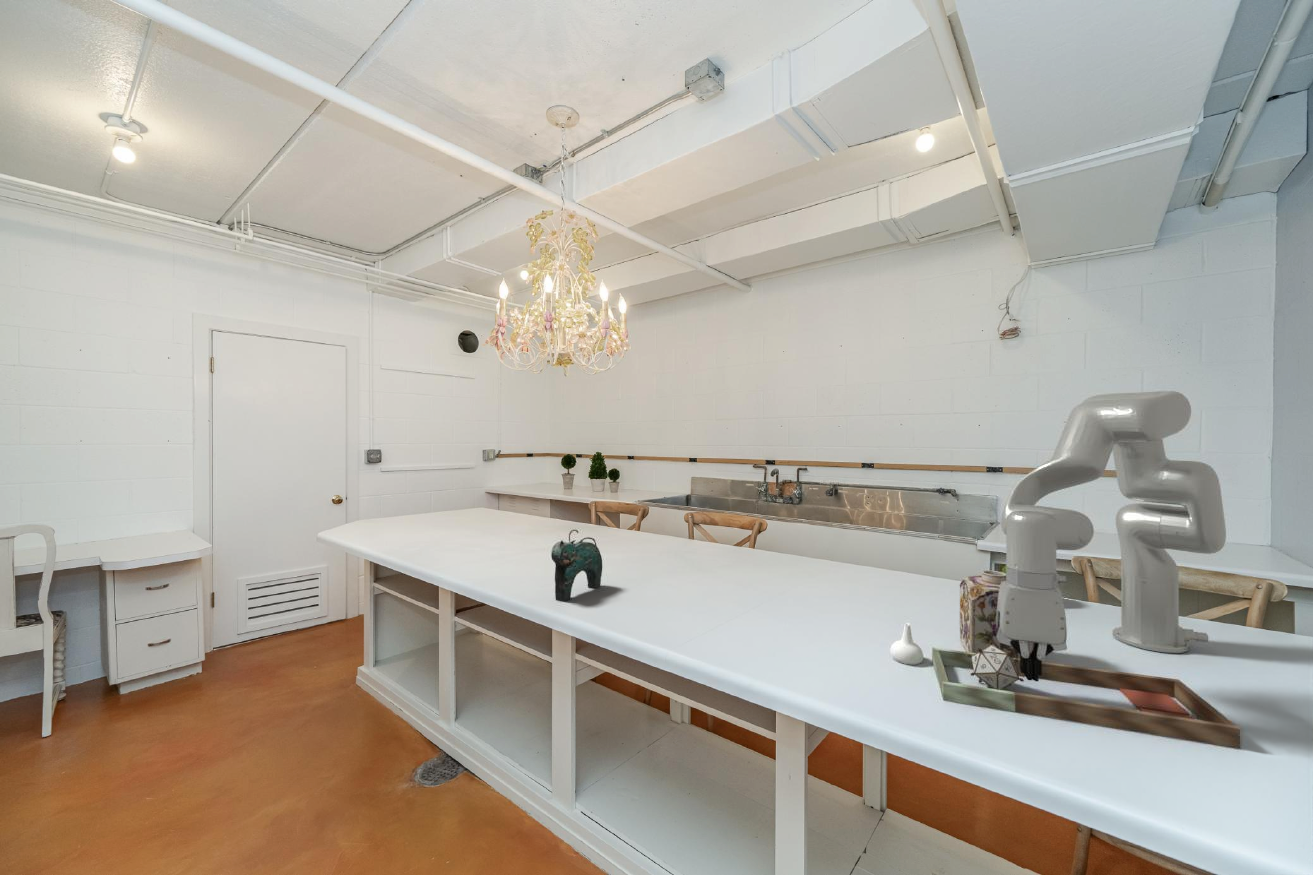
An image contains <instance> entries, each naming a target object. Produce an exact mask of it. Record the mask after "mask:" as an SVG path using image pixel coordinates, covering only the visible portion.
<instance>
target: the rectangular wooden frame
mask: <svg viewBox="0 0 1313 875" xmlns="http://www.w3.org/2000/svg"><path fill="white" fill-rule="evenodd" d="M931 651H932V652H931V653H932V654H931V655H932V656H931V657H932V659H931V660H932V665H933V669H934V672H935V675H936V679H937V683H938V687H939V691H940V693H941V697H942V700H943V701H947V702H952V703H957V704H965V705H970V706H978V707H983V708H990V709H996V710H1002V711H1006V712H1007V711H1009V712H1014V713H1019V714H1026V715H1033V716H1038V717H1044V718H1051V719H1057V720H1058V719H1059V720H1062V721H1063V720H1064V721H1070V722H1075V723H1082V724H1087V725H1093V726H1094V725H1095V726H1101V727H1106V728H1112V729H1119V730H1125V731H1129V732H1130V731H1131V732H1137V733H1144V734H1150V735H1155V736H1161V737H1167V738H1172V739H1173V738H1174V739H1180V740H1187V741H1192V742H1199V743H1205V744H1210V745H1215V746H1216V745H1217V746H1222V747H1229V748H1235V749H1241V728H1240V727H1238V725H1236V724H1235V723H1233V722H1232V721H1231V720H1230V719H1228V717H1226V716H1224V715H1223V713H1221V712H1220V711H1219V710H1217V709H1216V708H1215V707H1214V706H1212V705H1211V704H1210V703H1209V702H1207V701H1206V700H1205V699H1204V698H1202V697H1201V696H1200V695H1198V694H1197V693H1196V692H1195V691H1193V690H1192V689H1191V688H1190V687H1189V686H1187V685H1186V684H1185V683H1183V681H1181V680H1180V679H1177V678H1171V677H1161V676H1154V675H1145V674H1139V673H1138V674H1137V673H1131V672H1124V671H1116V670H1109V669H1103V668H1102V669H1101V668H1100V669H1099V668H1093V667H1087V666H1086V667H1085V666H1076V665H1070V664H1062V663H1054V662H1047V661H1042V675H1039V679H1042V680H1048V681H1055V682H1062V683H1070V684H1076V685H1083V686H1090V687H1098V688H1105V689H1112V690H1113V689H1114V690H1119V691H1120V692H1121V693H1122V694H1123V696H1125V697H1126V699H1128V701H1129V702H1130V703H1131V704H1132V705H1133V706H1134V707H1135V708H1136V709H1139V710H1135V709H1129V708H1122V707H1117V706H1116V707H1115V706H1109V705H1101V704H1096V703H1095V704H1094V703H1089V702H1082V701H1075V700H1069V699H1063V698H1057V697H1056V698H1055V697H1050V696H1045V695H1044V696H1043V695H1036V694H1030V693H1029V694H1028V693H1023V692H1015V691H1009V690H1004V689H1001V690H997V689H994V688H992V687H990V688H989V687H983V686H977V685H972V684H971V685H969V684H964V683H957V682H950V681H949V680H948V676H947V673H946V668H945V667H944V666H949V667H954V666H956V667H955V668H964V669H970V670H973V664H972V659H971V657H968V655H967V654H970V655H971V656H972V655H974V654H976V653H971V652H966V651H962V650H957V649H949V648H948V649H947V648H939V647H932V650H931ZM1012 659H1013V660H1015V659H1017V658H1012ZM1015 664H1016V668H1017V671H1018V675H1019V677H1025V675H1024V673H1022V672H1021V670H1020V659H1018V662H1015ZM1173 698H1175V699H1176V700H1177V701H1178V702H1179V703H1180V704H1181V705H1180V704H1179V703H1178V702H1177V701H1176V700H1174V699H1173ZM1183 706H1184V707H1185V708H1186V709H1187V710H1188V711H1190V713H1192V715H1190V713H1189V712H1188V711H1187V710H1186V709H1184V707H1183ZM1193 715H1194V716H1195V717H1196V718H1198V719H1196V718H1195V717H1194V716H1193Z"/></svg>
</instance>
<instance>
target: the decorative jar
mask: <svg viewBox="0 0 1313 875" xmlns="http://www.w3.org/2000/svg"><path fill="white" fill-rule="evenodd" d="M1002 581H1006V574H1005V573H1002V571H997V570H982V571H981V575H969V576H966V577H963V578H962V580H961V581H960V583H959V640H960V643H961V644H962V647H963V649H964V650H965V651H964V652H971V653H977V652H979V651H978V648H979V649H981V650H983V649H984V648H986V647H988V646H989V645H990V640H991V641H992V642H993V644H992V645H993V646H995V647H997V648H999V649H1000V650H1002V651H1004V652H1006V653H1007V652H1008V651H1011V654H1010V656H1011V658H1017V659H1020V654H1019V653H1018V652H1017V651H1016V650H1015V649H1014V648H1013V647H1012V646H1010V645H1006V644H1003V643H1000V642H999V641H998V640H997V638H996V636H997V633H998V628H997V625H996V614H997V602H998V594H999V589H1000V585H1001V582H1002ZM1033 644H1034V642H1027V646H1028V651H1029V654H1030V653H1031V652H1032V649H1033Z"/></svg>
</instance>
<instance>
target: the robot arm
mask: <svg viewBox="0 0 1313 875" xmlns="http://www.w3.org/2000/svg"><path fill="white" fill-rule="evenodd" d="M1191 415H1192V405H1191V403H1190V401H1189V399H1188V398H1187V396H1186V395H1184V394H1183V393H1181V392H1179V391H1174V390H1167V391H1165V390H1162V391H1161V390H1160V391H1143V392H1122V393H1121V392H1120V393H1119V392H1118V393H1106V394H1098V395H1093V396H1090V397H1087V398H1086V399H1085V400H1083V402H1082V403H1079V404H1077V405H1076V406H1075V407H1073V409H1072V410H1071V412H1070V413H1069V415H1068V418H1067V420H1066V423H1065V426H1064V428H1063V430H1062V432H1061V435H1060V438H1059V440H1058V442H1057V444H1056V447H1055V449H1054V453H1053V455H1052V457H1051V458H1050V459H1049V460H1048V461H1046V462H1044V463H1042V464H1041V465H1039V466H1037V467H1036V468H1034V469H1033V470H1031V471H1030V472H1029V473H1027V474H1025V475H1024V476H1022V478H1021V479H1020V480H1019V481H1018V482H1016V483H1015V485H1014V486H1013V487H1012V490H1011V491H1010V492H1009V495H1008V498H1007V500H1006V502H1005V505H1004V507H1003V511H1002V513H1001V518H1000V519H1001V520H1000V523H1001V524H1000V525H1001V529H1002V532H1003V533H1004V535H1005V537H1006V538H1005V539H1006V541H1005V543H1006V544H1005V545H1006V548H1005V549H1006V552H1005V553H1006V556H1005V558H1006V559H1005V560H1006V561H1005V562H1006V564H1005V566H1006V581H1002V582H1001V585H1000V589H999V594H998V602H997V614H996V625H997V628H998V633H997V636H996V638H997V640H998V641H999V642H1000V643H1003V644H1006V645H1010V646H1012V647H1013V648H1014V649H1015V650H1016V651H1017V652H1018V653H1019V654H1020V670H1021V672H1022V673H1024V675H1025V676H1024V677H1025V679H1026V680H1027V681H1034V682H1039V679H1040V678H1039V675H1042V662H1043V660H1045V657H1046V656H1049V654H1052V652H1062V651H1067V649H1068V646H1067V643H1066V642H1067V636H1068V635H1067V634H1068V629H1067V618H1066V611H1065V610H1066V609H1065V604H1064V599H1063V596H1062V595H1063V594H1062V591H1061V589H1060V588H1059V587H1058V586H1059V584H1060V583H1066V582H1067V577H1066V575H1065V574H1060V573H1058V572H1057V551H1077V550H1080V549H1084V548H1085V547H1086V546H1088V545H1089V544H1090V542H1091V541H1092V539H1093V537H1094V531H1095V530H1094V525H1093V522H1092V520H1090V518H1089V517H1088V516H1087V515H1085V514H1084V513H1082V512H1080V511H1077V510H1073V509H1066V508H1057V507H1052V506H1040V505H1036V504H1037V503H1038V502H1039V501H1040V500H1041V499H1042V498H1045V497H1046V496H1048V495H1049V494H1051V493H1055V492H1058V491H1061V490H1063V489H1065V490H1066V489H1069V488H1072V487H1075V486H1081V485H1083V484H1086V483H1091V482H1094V481H1095V480H1098V479H1099V478H1101V477H1102V476H1103V475H1104V473H1105V471H1106V468H1107V466H1108V463H1109V460H1110V456H1111V454H1113V455H1112V456H1113V461H1114V467H1115V475H1116V478H1117V480H1116V481H1117V485H1118V489H1119V491H1120V493H1121V495H1122V496H1123V497H1124V498H1127V499H1129V500H1131V501H1138V502H1142V503H1130V504H1126V505H1124V506H1122V507H1121V508H1120V509H1118V511H1117V513H1116V515H1115V526H1116V530H1117V534H1118V536H1117V537H1118V540H1119V546H1120V559H1121V560H1120V561H1121V562H1120V564H1121V565H1120V566H1121V568H1120V569H1121V584H1120V585H1121V588H1120V590H1121V594H1120V595H1121V597H1120V598H1121V600H1120V601H1121V608H1120V610H1121V616H1120V617H1121V622H1120V623H1121V626H1120V627H1116V628H1113V629H1112V636H1113V637H1114V638H1115V639H1116V640H1118V641H1120V642H1122V643H1124V644H1126V645H1129V646H1132V647H1135V648H1138V649H1144V650H1148V651H1154V652H1158V653H1166V654H1167V653H1168V654H1179V653H1180V654H1182V653H1185V652H1188V651H1189V650H1190V649H1189V644H1188V642H1189V641H1196V642H1205V643H1207V642H1209V635H1208V634H1207V633H1206V632H1201V631H1194V630H1193V629H1190V628H1183V627H1182V626H1180V625H1179V617H1180V616H1179V608H1180V607H1179V606H1180V605H1179V601H1180V600H1179V598H1180V596H1179V595H1180V594H1179V593H1180V592H1179V591H1180V588H1179V586H1180V585H1179V584H1180V583H1179V582H1180V581H1179V578H1180V577H1179V576H1180V573H1179V572H1180V571H1179V566H1177V563H1176V562H1175V560H1174V558H1173V557H1172V556H1171V555H1170V554H1169V553H1168V551H1166V550H1174V551H1180V552H1189V553H1195V554H1196V553H1197V554H1205V555H1211V554H1212V555H1213V554H1216V553H1218V552H1220V551H1221V550H1223V548H1224V546H1225V543H1226V539H1227V529H1226V521H1225V513H1224V507H1223V506H1224V505H1223V499H1222V491H1221V483H1220V479H1219V477H1218V474H1217V472H1216V470H1215V469H1214V468H1213V467H1212V466H1211V465H1209V464H1207V463H1205V462H1201V461H1195V460H1178V459H1177V460H1175V459H1172V460H1171V459H1169V458H1167V454H1166V452H1165V446H1164V445H1165V444H1164V439H1165V438H1168V437H1170V436H1173V435H1176V434H1177V433H1180V432H1181V431H1182V430H1184V429H1185V428H1186V426H1187V425H1188V424H1189V422H1190V420H1191ZM1143 502H1144V503H1143ZM1145 502H1146V503H1145ZM1173 505H1174V506H1173ZM1175 505H1176V506H1175ZM1027 642H1034V644H1033V649H1032V652H1031V653H1030V654H1029V651H1028V646H1027Z"/></svg>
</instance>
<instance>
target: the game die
mask: <svg viewBox="0 0 1313 875" xmlns="http://www.w3.org/2000/svg"><path fill="white" fill-rule="evenodd" d="M992 644H993V642H992V641H991V640H990V645H989V646H988V647H986V648H984V649H983V650H981V649H979V648H978V651H979V652H977V653H976V654H974V655H972V656H971V655H970V654H967V655H968V657H971V659H972V664H973V669H972V670H973V672H970V674H969V676H972V677H973V676H976V677H977V678H978V683H981V684H982V682H983V683H985V684H986V685H988V686H989V687H990V688H991V689H997V690H1004V689H1005V688H1007V687H1012V684H1014V683H1016V682H1017V681H1018V680H1019V681H1020V682H1025V680H1024V678H1021V677H1020V676H1019V675H1018V671H1017V668H1016V664H1015V662H1018V659H1015V660H1013V659H1012V658H1011V656H1010V654H1011V651H1008V652H1007V653H1006V652H1004V651H1002V650H1000V649H999V648H997V647H995V646H993V645H992Z"/></svg>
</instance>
